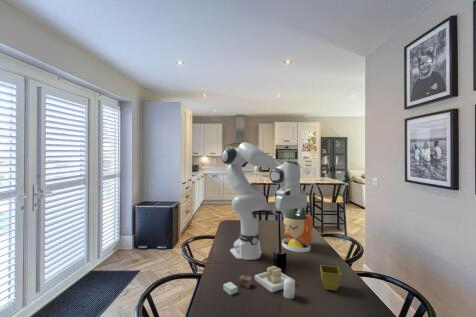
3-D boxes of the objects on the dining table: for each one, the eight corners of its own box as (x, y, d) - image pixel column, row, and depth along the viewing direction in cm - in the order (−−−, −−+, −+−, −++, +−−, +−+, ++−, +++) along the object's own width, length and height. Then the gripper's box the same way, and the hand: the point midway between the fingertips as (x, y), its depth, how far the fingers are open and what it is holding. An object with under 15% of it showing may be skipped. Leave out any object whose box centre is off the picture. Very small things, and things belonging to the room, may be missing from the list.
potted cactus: (298, 255, 162) (299, 201, 162) (275, 245, 181) (276, 196, 181) (320, 249, 174) (321, 198, 174) (297, 240, 193) (297, 194, 193)
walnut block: (239, 286, 122) (239, 278, 122) (242, 282, 126) (242, 274, 126) (248, 288, 120) (248, 280, 120) (251, 284, 124) (251, 276, 124)
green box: (223, 290, 119) (223, 284, 119) (230, 288, 121) (230, 281, 121) (230, 296, 114) (230, 289, 114) (237, 293, 116) (237, 286, 116)
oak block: (267, 279, 127) (267, 267, 127) (274, 277, 129) (274, 265, 129) (273, 284, 123) (273, 271, 123) (281, 281, 125) (281, 269, 125)
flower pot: (338, 284, 124) (338, 266, 124) (341, 293, 116) (341, 274, 116) (319, 282, 126) (319, 264, 126) (321, 291, 118) (321, 272, 118)
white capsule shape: (281, 295, 114) (281, 280, 114) (287, 291, 117) (287, 276, 117) (290, 300, 110) (291, 284, 110) (296, 295, 114) (297, 280, 114)
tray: (254, 280, 128) (254, 275, 128) (275, 273, 136) (275, 269, 136) (271, 292, 116) (271, 287, 116) (294, 284, 124) (294, 279, 124)
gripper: (301, 189, 143) (301, 213, 143) (273, 191, 133) (273, 217, 132) (310, 190, 138) (310, 215, 138) (281, 193, 127) (281, 220, 127)
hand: (291, 216), depth 135 cm, fingers open, 8 cm apart
